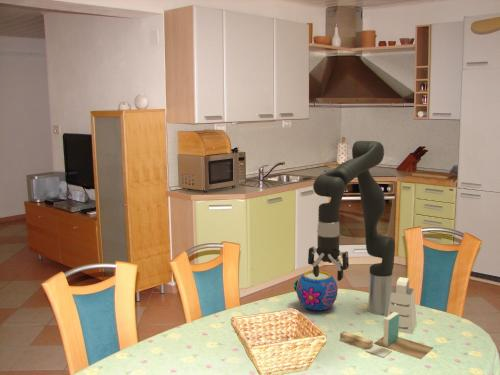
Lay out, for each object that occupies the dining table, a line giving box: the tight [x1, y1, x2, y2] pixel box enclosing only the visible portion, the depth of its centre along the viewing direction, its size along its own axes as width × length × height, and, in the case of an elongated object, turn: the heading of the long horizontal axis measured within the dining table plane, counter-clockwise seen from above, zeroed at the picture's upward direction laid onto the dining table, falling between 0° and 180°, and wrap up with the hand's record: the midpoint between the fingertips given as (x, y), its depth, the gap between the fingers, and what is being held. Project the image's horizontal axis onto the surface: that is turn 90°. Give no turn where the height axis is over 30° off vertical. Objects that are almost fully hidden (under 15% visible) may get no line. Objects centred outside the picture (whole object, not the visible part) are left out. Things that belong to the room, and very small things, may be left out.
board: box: [373, 336, 434, 360], centre depth 191 cm, size 11×18×1 cm, turn 49°
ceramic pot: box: [293, 270, 339, 311], centre depth 227 cm, size 18×18×15 cm
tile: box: [382, 312, 400, 346], centre depth 193 cm, size 8×2×10 cm, turn 139°
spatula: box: [339, 331, 393, 359], centre depth 190 cm, size 18×6×3 cm, turn 49°
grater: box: [386, 276, 418, 335], centre depth 206 cm, size 10×10×20 cm
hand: (327, 278), depth 185 cm, fingers open, 8 cm apart
